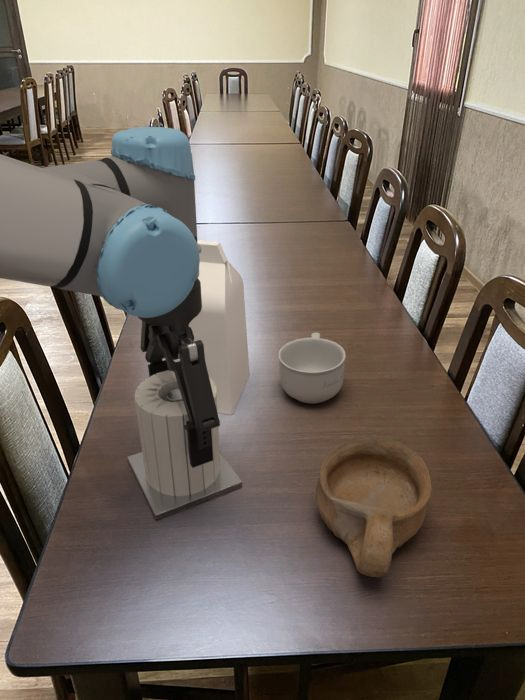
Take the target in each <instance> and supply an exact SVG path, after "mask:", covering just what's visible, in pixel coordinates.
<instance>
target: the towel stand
mask: <svg viewBox="0 0 525 700" xmlns="http://www.w3.org/2000/svg"><path fill="white" fill-rule="evenodd" d="M167 401H168V402H180V401H183V399H182V396H181V393H180V389H174V390H171V391H169V392H168V393H167ZM219 458H220V472H219V474H218V476H217V478H216V480H215V481H214V483H212V484H211V485H210V486H209V487H207V488H206V489H204V490H203V491H201V492H198V493H195V494H193V495H191V494H190V495H188V496H175V495H174V496H170V495H166V494H162V493H161V492H158V491H157V490H155V489H154V488H152V487H151V485H149V483H148V481H147V479H146V475H145V469H144V462H143V454H142V451H141V452H138V453H134V454H131V455H129V456H127V457H126V459H127V463H128V465H129V467H130V469H131V471H132V473H133V476H134V477H135V480H136V482H137V484H138V486H139V488H140V490H141V492H142V494H143V496H144V499H145V500H146V503H147V504H148V506H149V508H150V509H149V510H151V513H152V515H153V517H154V519H155V521H156V522H157V521H159V520H162V519H165V518H166V517H170V516H173V515H175V514H177V513H180V512H182V511H184V510H188V509H191V508H193V507H196V506H198V505H201V504H203V503H206V502H208V501H211V500H213V499H216V498H218V497H221V496H223V495H226V494H229V493H231V492H233V491H236V490H239V489H242V488H243V481H242V479H241V478H240V477H239V475H238V474H237V473H236V471H235V470H234V468H233V467H232V465H231V464H230V462H229V461H228V460H227V458H226V457H225V456H224V454H223V453H222V451H221V450H220V449H219Z"/></svg>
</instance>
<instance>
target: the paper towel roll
mask: <svg viewBox="0 0 525 700" xmlns="http://www.w3.org/2000/svg"><path fill="white" fill-rule="evenodd" d="M209 379H210V383H211V388H212V392H213V396H214V400H215V404H216V409H217V390H216V384H215V383H214V382H213V380H212V379H211V378H210V377H209ZM174 389H179V386H178V383H177V380H176V377H175V373H174V372H173V371H169V370H167V371H163V372H160V373H156V375H155V374H154V375H152V376H150V377H149V376H148V377H147V378H145V379H143V380H142V381H141V382H140V383H139V385H138V386H137V387H136V389H135V393H134V403H135V404H134V405H135V410H136V411H135V412H136V419H137V425H138V432H139V440H140V446H141V452H142V454H143V462H144V469H145V475H146V479H147V481H148V483H149V485H151V487H152V488H154V489H155V490H157V491H158V492H161V493H162V494H166V495H170V496H174V495H175V496H188V495H190V494H191V495H193V494H195V493H198V492H201V491H203V490H204V489H206V488H207V487H209V486H210V485H211V484H212V483H214V481H215V480H216V478H217V476H218V474H219V472H220V458H219V450H220V437H219V426H218V427H215V428H212V429H211V433H212V449H213V461H210V462H208V463H205V464H202V465H199V466H197V467H194V468H192V466H191V465H190V457H189V446H188V436H187V430H186V429H185V427H184V425H186V422H187V421H189V418H188V415H187V412H186V409H185V406H184V402H183V401H180V402H168V401H167V393H168V392H169V391H171V390H174ZM217 413H218V412H217ZM218 414H219V413H218Z"/></svg>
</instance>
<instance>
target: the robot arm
mask: <svg viewBox="0 0 525 700" xmlns="http://www.w3.org/2000/svg"><path fill="white" fill-rule="evenodd" d="M192 153H193V152H192V150H191V143H190V140H189V137H188V136H187V135H186V134H185V133H184V131H181V130H179V129H177V128H172V127H165V126H141V127H139V126H138V127H132V128H131V127H130V128H126V129H125V130H124V129H123V130H122V129H121V130H118V131H116V132H115V133H114V134H113V135H112V137H111V149H110V155H111V156H105V157H104V158H100V159H97V160H89V161H88V160H87V161H81V162H73V163H67V164H58V165H52V166H45V167H44V166H43V167H40V166H37V165H33V164H30V163H27V162H24V161H21V160H18V159H16V158H12V157H10V156H7V155H4V154H1V153H0V279H3V280H9V281H15V282H20V283H25V284H31V285H32V284H33V285H36V286H37V285H38V286H43V287H49V288H56V289H59V290H63V291H64V290H65V291H68V292H69V291H70V292H75V293H81V294H85V295H93V296H97V297H100V298H102V299H103V300H104V302H106V303H107V304H108V305H110V306H112V307H113V308H114V309H116V310H120V311H122V312H125V314H128V315H130V316H132V317H133V316H134V317H137V318H138V319H139V320H140V321H141V331H140V347H139V348H140V351H141V352H142V353H145V355H144V358H145V361H146V362H147V363H148V364H147V370H148V378H149V377H150V376H152V375H154V374H155V375H156V373H160V372H163V371H167V370H169V371H173V372H174V373H175V377H176V380H177V383H178V386H179V389H180V393H181V396H182V399H183V402H184V406H185V409H186V412H187V415H188V418H189V421H187V422H186V425H184V427H185V429H186V430H187V436H188V446H189V457H190V465H191V466H192V468H194V467H197V466H199V465H202V464H205V463H208V462H210V461H213V449H212V433H211V429H212V428H215V427H218V428H219V427H220V426H221V421H220V418H219V413H217V409H216V404H215V400H214V396H213V392H212V388H211V383H210V379H209V375H208V371H207V366H206V362H205V354H204V345H203V343H202V341H201V340H198V341H194V335H193V332H192V329H191V327H189V323H190V322H191V321H192V320H193V319H194V318H195V317H196V316H197V315H198V314H199V313H200V312H201V309H202V298H201V283H200V280H199V279H198V277H199V263H200V258H199V253H201V250H202V248H201V246H200V245H198V243H197V240H198V226H197V225H198V224H197V207H196V205H197V204H196V190H195V189H196V188H195V181H196V174H195V168H194V161H193V154H192ZM163 358H165V359H166V360H164V361H162V359H163ZM176 359H180V361H179V362H174V361H173V360H176Z"/></svg>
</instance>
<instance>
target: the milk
mask: <svg viewBox="0 0 525 700" xmlns="http://www.w3.org/2000/svg"><path fill="white" fill-rule="evenodd" d="M197 243H198V245H200V246H201V248H202V250H201V253H199V258H200V263H199V277H198V279H199V280H200V283H201V298H202V309H201V312H200V313H199V314H198V315H197V316H196V317H195V318H194V319H193V320H192V321H191V322H190V323H189V327H191V329H192V332H193V335H194V341H198V340H201V341H202V343H203V345H204V354H205V362H206V366H207V371H208V375H209V377H210V378H211V379H212V380H213V382H214V383H215V384H216V390H217V412H218V414H224V415H229V416H232V415H233V414H234V412H235V410H236V407H237V406H238V403H239V400H240V398H241V396H242V393H243V391H244V390H245V387H246V385H247V382H248V380H249V378H250V377H251V376H250V375H251V374H250V359H249V347H248V346H249V345H248V333H247V331H248V329H247V317H246V316H247V315H246V314H247V313H246V302H245V301H246V300H245V286H244V280H243V277H242V275H241V274H240V273H239V272H238V270H237V269H236V268H235V267H234V266H233V265H232V263H231V262H229V260H228V258H227V255H226V253H225V251H224V248H223V246H222V244H221V242H219V241H210V240H209V241H208V240H198V239H197ZM164 360H166V359H165V358H163V359H162V361H164ZM173 361H174V362H179V361H180V359H176V360H173Z"/></svg>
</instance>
